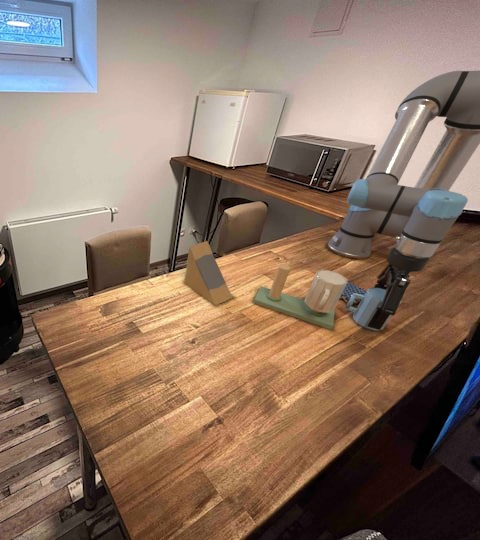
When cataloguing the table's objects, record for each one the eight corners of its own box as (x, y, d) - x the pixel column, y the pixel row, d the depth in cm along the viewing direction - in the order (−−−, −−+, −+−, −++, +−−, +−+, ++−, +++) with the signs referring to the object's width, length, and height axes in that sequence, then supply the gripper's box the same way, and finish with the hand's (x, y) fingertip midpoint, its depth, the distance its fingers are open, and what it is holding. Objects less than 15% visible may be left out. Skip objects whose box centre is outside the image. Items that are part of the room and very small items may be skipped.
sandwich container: (215, 305, 94) (224, 266, 86) (183, 282, 105) (188, 246, 97) (233, 297, 98) (243, 259, 90) (200, 275, 109) (207, 240, 101)
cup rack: (259, 289, 102) (270, 256, 94) (332, 313, 91) (351, 277, 84) (253, 302, 95) (264, 268, 88) (331, 329, 85) (351, 293, 78)
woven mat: (320, 288, 102) (322, 283, 101) (340, 281, 106) (343, 277, 105) (350, 306, 94) (353, 301, 93) (371, 298, 98) (374, 293, 97)
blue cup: (342, 306, 94) (356, 281, 88) (382, 319, 89) (399, 293, 83) (341, 320, 89) (356, 294, 83) (384, 334, 84) (402, 307, 78)
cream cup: (301, 311, 85) (314, 283, 80) (305, 293, 93) (317, 267, 87) (331, 321, 82) (347, 293, 76) (333, 302, 89) (347, 275, 84)
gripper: (389, 231, 85) (356, 289, 97) (397, 268, 68) (357, 334, 80) (422, 238, 82) (385, 297, 93) (440, 279, 65) (392, 345, 76)
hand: (372, 314), depth 86 cm, fingers open, 13 cm apart
